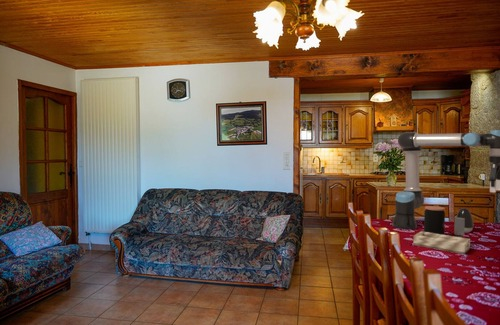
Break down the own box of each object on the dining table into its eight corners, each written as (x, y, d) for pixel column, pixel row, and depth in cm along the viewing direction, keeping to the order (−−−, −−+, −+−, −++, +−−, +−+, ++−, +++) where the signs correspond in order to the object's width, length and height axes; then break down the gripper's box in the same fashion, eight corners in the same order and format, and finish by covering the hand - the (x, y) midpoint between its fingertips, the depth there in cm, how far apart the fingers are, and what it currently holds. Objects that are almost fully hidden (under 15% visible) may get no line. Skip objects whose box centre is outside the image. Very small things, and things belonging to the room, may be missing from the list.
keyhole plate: (413, 244, 181) (413, 235, 181) (421, 239, 192) (421, 231, 191) (464, 254, 165) (464, 244, 165) (469, 248, 175) (470, 239, 175)
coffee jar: (447, 240, 191) (448, 209, 190) (427, 239, 193) (427, 208, 192) (440, 235, 201) (441, 206, 200) (421, 234, 203) (422, 205, 203)
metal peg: (452, 244, 183) (453, 218, 182) (454, 242, 187) (455, 216, 186) (463, 246, 179) (464, 219, 179) (465, 244, 183) (465, 218, 183)
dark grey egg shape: (467, 229, 216) (468, 206, 215) (476, 233, 206) (477, 209, 205) (451, 229, 217) (451, 206, 216) (459, 233, 207) (460, 209, 206)
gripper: (499, 156, 185) (498, 193, 186) (509, 155, 202) (508, 190, 203) (483, 156, 191) (482, 192, 192) (494, 155, 208) (493, 189, 209)
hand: (495, 191), depth 198 cm, fingers open, 13 cm apart
